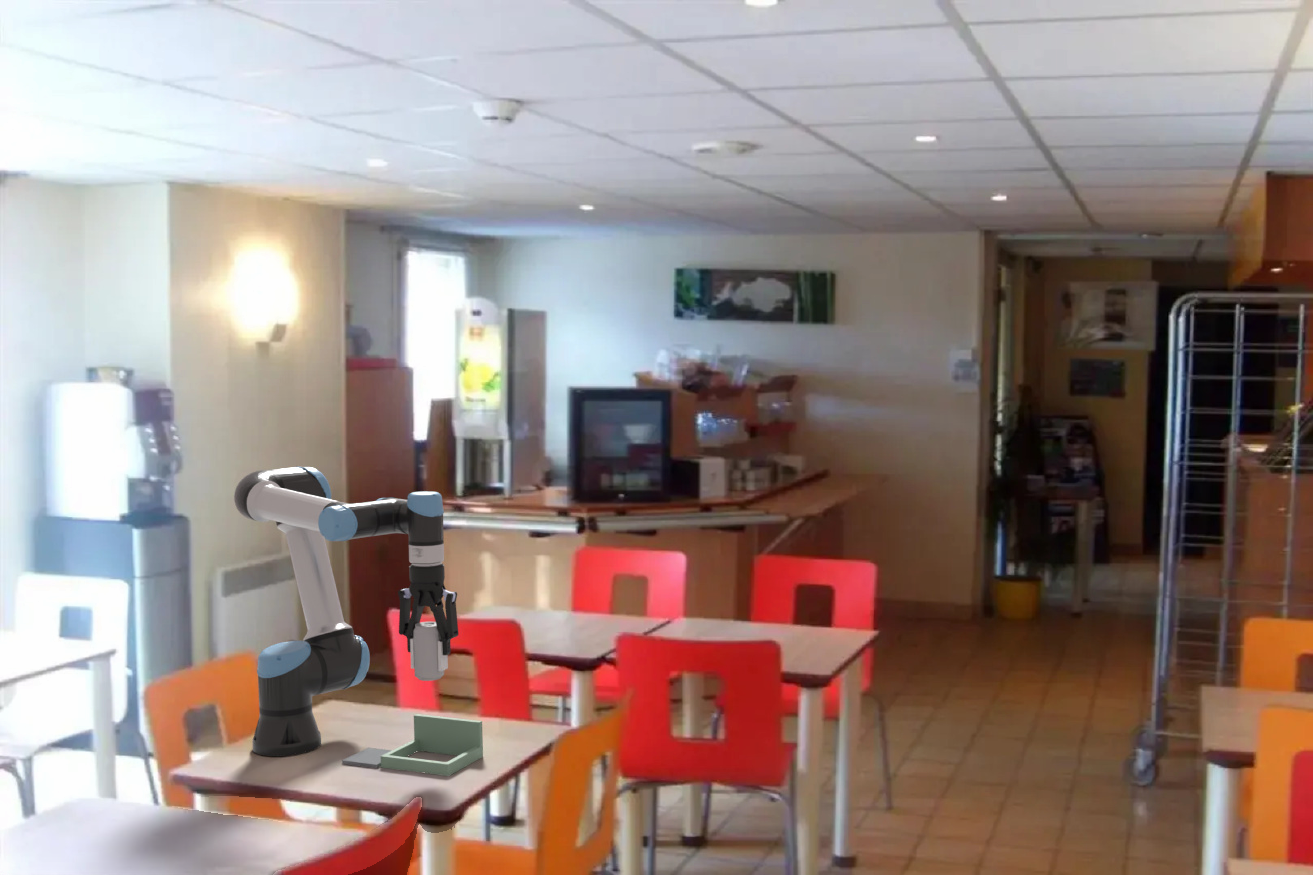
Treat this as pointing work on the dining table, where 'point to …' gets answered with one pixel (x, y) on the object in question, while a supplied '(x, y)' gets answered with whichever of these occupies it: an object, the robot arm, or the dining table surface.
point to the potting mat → (366, 758)
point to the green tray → (438, 745)
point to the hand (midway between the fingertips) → (429, 668)
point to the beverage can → (426, 651)
